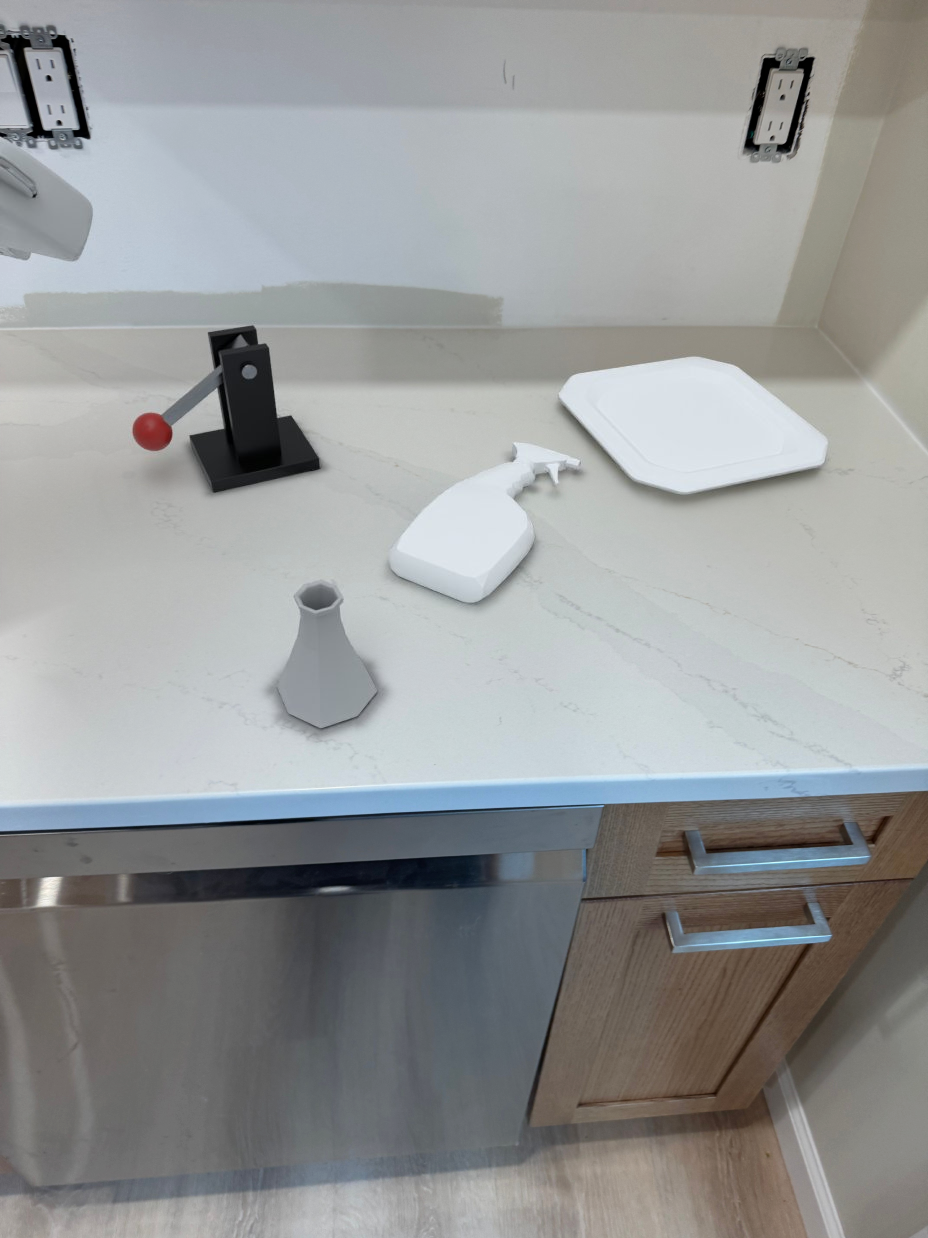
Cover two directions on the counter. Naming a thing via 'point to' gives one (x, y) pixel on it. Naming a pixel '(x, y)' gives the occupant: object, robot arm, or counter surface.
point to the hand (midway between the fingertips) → (14, 246)
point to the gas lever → (177, 409)
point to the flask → (323, 662)
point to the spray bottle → (475, 528)
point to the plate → (691, 424)
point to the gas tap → (249, 420)
